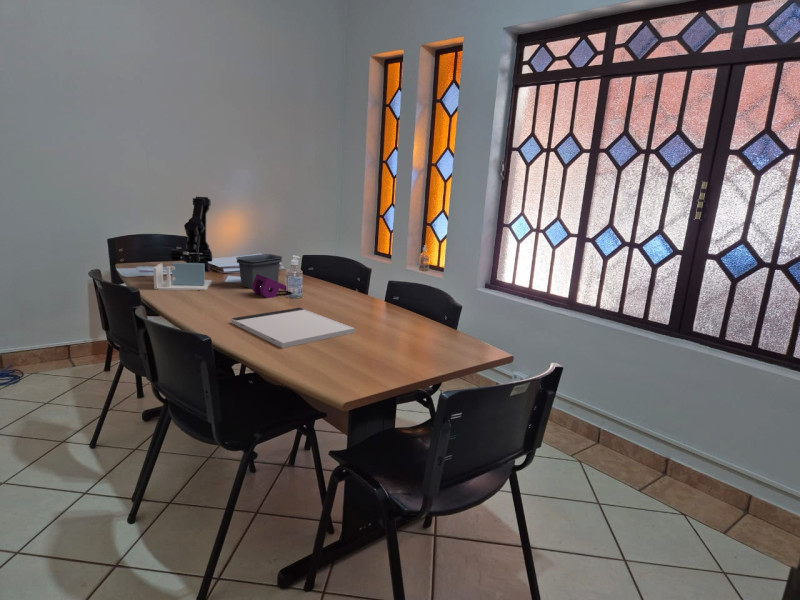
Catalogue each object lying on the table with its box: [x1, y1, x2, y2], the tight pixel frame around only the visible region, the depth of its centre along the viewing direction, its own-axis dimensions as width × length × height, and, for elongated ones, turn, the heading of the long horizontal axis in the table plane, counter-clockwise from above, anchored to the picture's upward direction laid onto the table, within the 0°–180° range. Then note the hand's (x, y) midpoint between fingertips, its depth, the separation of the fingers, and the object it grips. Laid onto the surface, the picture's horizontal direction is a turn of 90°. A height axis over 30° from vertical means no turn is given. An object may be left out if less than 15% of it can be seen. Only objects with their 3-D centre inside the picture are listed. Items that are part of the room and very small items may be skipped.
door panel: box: [170, 262, 206, 285], centre depth 248 cm, size 4×14×10 cm, turn 101°
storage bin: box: [235, 253, 284, 290], centre depth 262 cm, size 21×16×14 cm
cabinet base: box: [152, 262, 213, 291], centre depth 251 cm, size 19×22×10 cm
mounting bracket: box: [251, 274, 287, 299], centre depth 247 cm, size 10×8×18 cm
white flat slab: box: [230, 307, 356, 349], centre depth 199 cm, size 35×2×31 cm
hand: (189, 270), depth 251 cm, fingers closed
